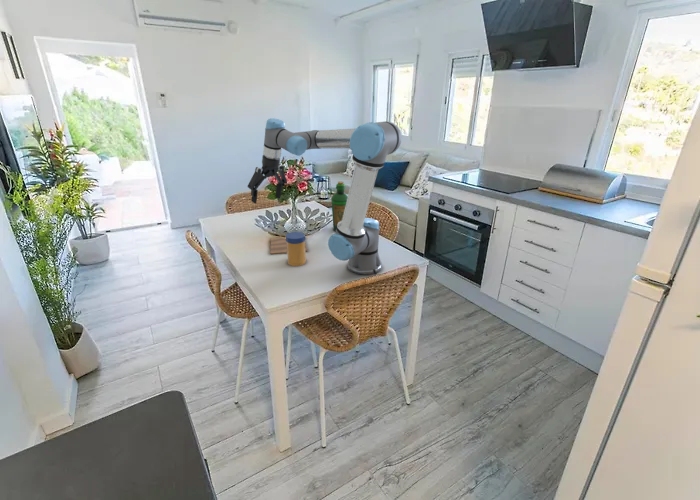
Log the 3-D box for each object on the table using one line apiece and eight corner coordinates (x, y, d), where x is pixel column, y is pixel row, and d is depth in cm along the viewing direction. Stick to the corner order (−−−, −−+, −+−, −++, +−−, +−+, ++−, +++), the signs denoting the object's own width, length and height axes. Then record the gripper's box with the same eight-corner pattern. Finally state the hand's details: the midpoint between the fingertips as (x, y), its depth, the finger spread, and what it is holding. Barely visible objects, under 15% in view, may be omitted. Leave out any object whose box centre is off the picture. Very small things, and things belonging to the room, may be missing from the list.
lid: (306, 243, 156) (305, 238, 155) (286, 244, 154) (285, 239, 153) (304, 235, 163) (304, 231, 163) (285, 237, 162) (285, 232, 161)
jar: (306, 265, 160) (305, 239, 155) (288, 266, 159) (286, 240, 153) (305, 257, 168) (303, 232, 163) (287, 258, 166) (285, 233, 161)
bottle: (339, 234, 197) (339, 185, 185) (327, 229, 204) (327, 181, 192) (353, 229, 203) (354, 182, 192) (341, 225, 210) (341, 179, 199)
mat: (307, 251, 174) (307, 250, 174) (270, 254, 171) (270, 253, 171) (304, 237, 192) (304, 236, 192) (270, 239, 189) (270, 238, 188)
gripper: (288, 150, 161) (282, 191, 173) (241, 155, 144) (238, 200, 155) (298, 157, 158) (291, 198, 169) (252, 162, 140) (247, 208, 152)
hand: (266, 199), depth 162 cm, fingers open, 13 cm apart
